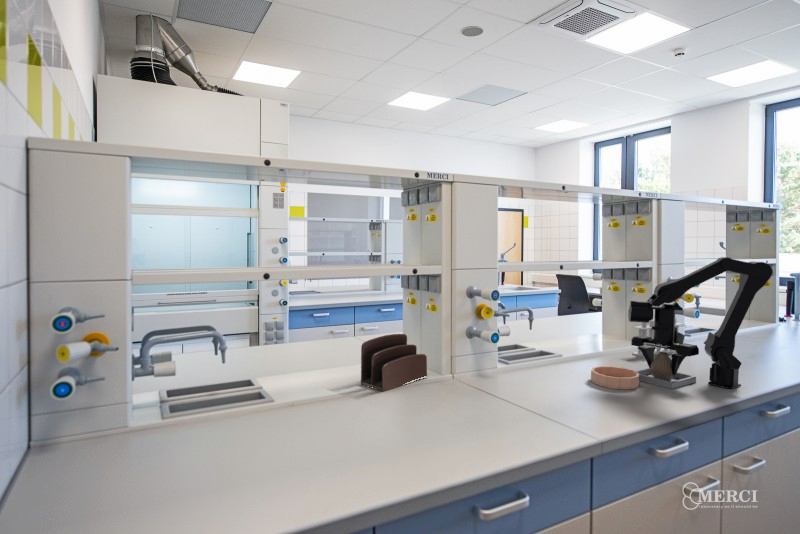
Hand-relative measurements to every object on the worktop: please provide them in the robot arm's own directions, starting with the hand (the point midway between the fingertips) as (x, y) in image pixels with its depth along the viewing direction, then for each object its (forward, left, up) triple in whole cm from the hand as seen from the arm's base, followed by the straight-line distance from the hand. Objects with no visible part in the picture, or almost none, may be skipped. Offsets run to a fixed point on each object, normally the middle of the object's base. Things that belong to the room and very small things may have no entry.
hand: (662, 372), depth 152 cm
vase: (0, 0, -3) cm, 3 cm away
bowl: (+6, +16, -2) cm, 17 cm away
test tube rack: (+22, -36, -3) cm, 42 cm away
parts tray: (0, 0, -2) cm, 2 cm away
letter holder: (+42, +74, -3) cm, 85 cm away
